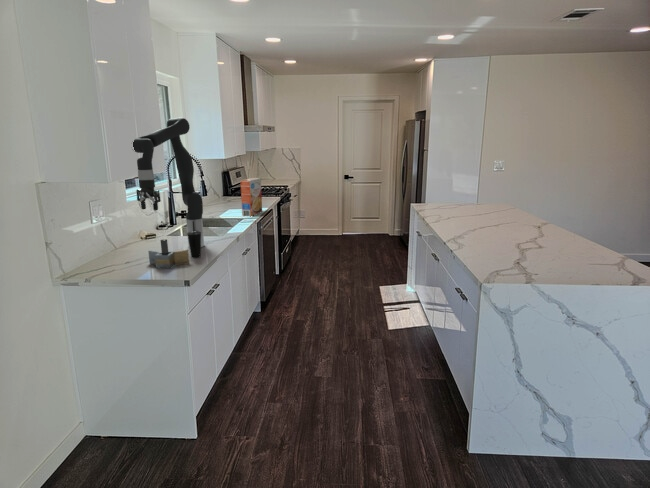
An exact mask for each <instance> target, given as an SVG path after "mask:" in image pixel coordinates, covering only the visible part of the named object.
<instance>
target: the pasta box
mask: <svg viewBox="0 0 650 488" xmlns="http://www.w3.org/2000/svg"><path fill="white" fill-rule="evenodd" d="M240 194H241V195H240V196H241V198H240V199H241V216H250V217H249V218H252V217H251V216H253V215H255V216H257V215H259V214H261V213H260V212H262V213H263V202H262V201H263V200H262V199H263V197H262V178H261V177H250V178H247V179H246V178H244V179H242V180H240ZM258 213H259V214H258ZM256 214H257V215H256ZM253 217H254V216H253Z"/></svg>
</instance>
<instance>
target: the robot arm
mask: <svg viewBox="0 0 650 488" xmlns="http://www.w3.org/2000/svg"><path fill="white" fill-rule="evenodd" d="M188 132H190V123H189V121H188V120H187V119H186V118H185V117H174V118H173V117H172V118H169V119H168V120H167V121H166V127H163V128H160V129H157V130H155V131H152V132H150V133H148V134H147V135H142V136H140V137H137V138H134V142H133V141H132V142H133V147H134V150H135V151H134V150H133V151H134V152H135V153H137V154H142V157H140V158H137V159H136V164H137V177H138V187H139V189H136V200H137V201H138V202H139V203H140V208H141V210H146V209H147V206H146V205H147V204H146V200H147V199H149V200H150V201H151V202H152V207H153V211H158V209H159V205H158V204H159V202H161V193H160V190H157V189H156V190H155V188H156V184H155V182H156V181H155V174H154V168H153V158H154V152H155V151H154V149H155V148H156V147H159V146H160V145H162V144H164V143H166V142H167V141H170V142H171V143H170V144H171V146H172V151H173V155H174V159H175V166H176V170H177V174H178V178H179V183H180V188H181V198H182V201H183V204H184V205H185V206H186V207H187V213H185V221H186V222H185V223H186V234H187V233H188V232H190V231H193V221H194V229H195V230H196V231H199V232H201V248H203V247H205V239H204V238H205V235H204V225H203V213H204V208H203V206H204V204H203V196H202V195H201V194H200V193H198V192H196V191H195V185H194V175H195V174H194V172H195V167H194V163H193V158H192V156H191V154H190V153H189V152H188V150H187V149H186V147H185V146H184V145H183V143H182V140H181V136H183V135H186V134H188ZM187 245H188V248H190V245H189V240H188V239H187Z"/></svg>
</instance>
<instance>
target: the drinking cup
mask: <svg viewBox="0 0 650 488" xmlns="http://www.w3.org/2000/svg"><path fill="white" fill-rule="evenodd" d="M186 235H187V241H188V240H189V245H190V247H189V250H190V255H191V258H192V259H197V258H200V257H201V253H202V251H201V248H202V247H201V232H199V231H196V230H195V229H194V221H193V231H190V232H188V233H187V232H186Z"/></svg>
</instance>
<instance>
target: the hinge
mask: <svg viewBox="0 0 650 488" xmlns="http://www.w3.org/2000/svg"><path fill="white" fill-rule="evenodd" d="M147 252H148V259H149V260H148V261H149V265H155V266H156V267H155V268H156V269H167V270H169V269H172V268H173V267H174V266H177V265H179V266H180V265H184V264H189V263H190V255H189V249H185V250H184V249H183V250H177V251H169V250H168V253H169V254H168V255H162V250H161V251H156V250H148V251H147Z"/></svg>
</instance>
